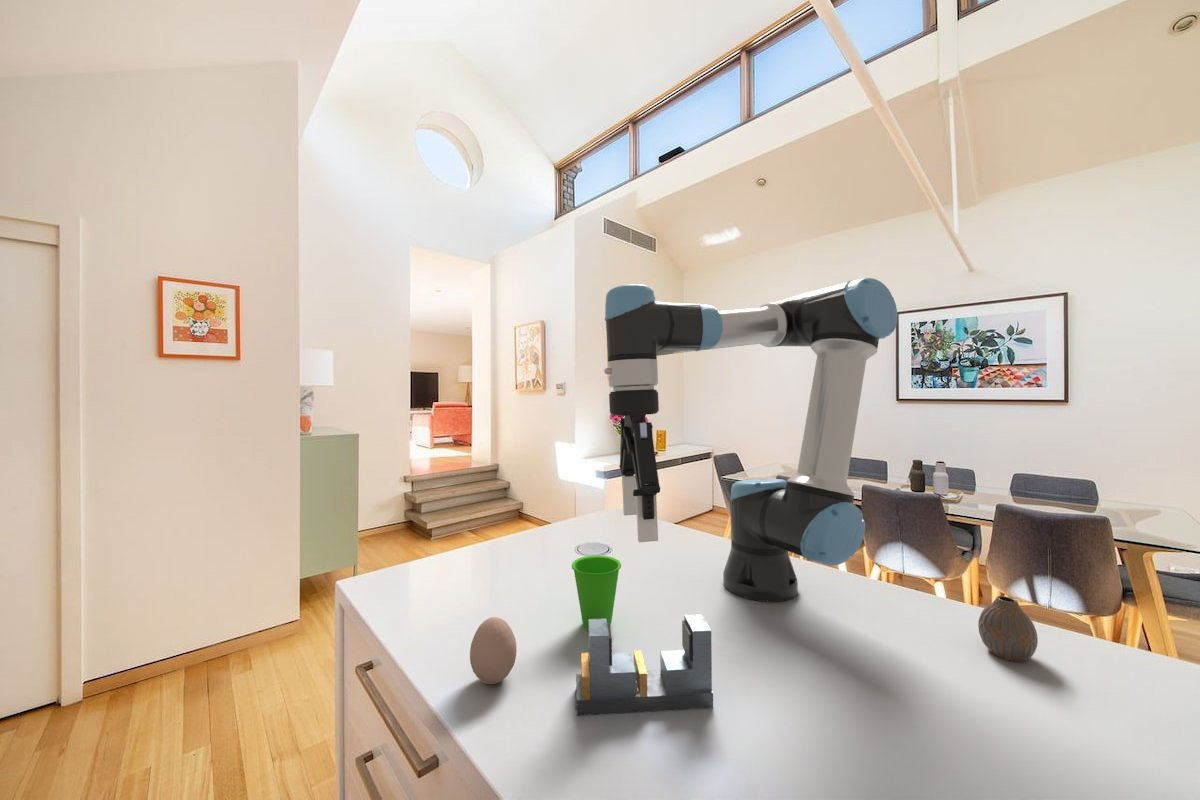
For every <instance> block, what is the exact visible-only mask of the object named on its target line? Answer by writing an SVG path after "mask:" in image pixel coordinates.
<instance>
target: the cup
mask: <svg viewBox="0 0 1200 800" xmlns="http://www.w3.org/2000/svg"><path fill="white" fill-rule="evenodd" d="M621 568H622V563H621V562H620V560H618V559H617V558H615V557H612V556H608V555H599V554H597V555H595V554H594V555H587V556H582V557H580V558H577V559H575V560H574V561H573V562H572V564H571V569H572V570H573V572H574V578H575V585H576V591H577V592H576V593H577V598H578V603H579V608H580V614H581V620H582V624H583V627H584V628H585V629H586V630H588V631H589V620H588V619H606V620H607V624H609V625H610V626H611V624H612V619H613V613H614V607H615V599H616V593H617V586H618V580H619V579H618V578H619V571H620V570H621Z"/></svg>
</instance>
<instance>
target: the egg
mask: <svg viewBox="0 0 1200 800" xmlns="http://www.w3.org/2000/svg"><path fill="white" fill-rule="evenodd" d="M516 659H517V642H516V637H515V633H514V631H513V630H512V628H511V626H510V625H509V624H508V622H507V621H505V619H503V618H501V617H499V616H498V617H497V616H492V617H489V618H487V619H485V620H484V621H482V622H481V624H480V625H479V626H478V627H477V629H476V631H475V633H474V635H473V637H472V640H471V643H470V649H469V661H470V667H471V669H472V673H474V675H475V676H476V677H477V679H479V680H480V682H483V683H485V684H487V685H494V684H498V683H500V682H502V681H503V680H505V679H506V678H507V677H508V676H509V674H510V672H511V671H512V669H513V668H514V666H515V662H516Z"/></svg>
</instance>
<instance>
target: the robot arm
mask: <svg viewBox="0 0 1200 800" xmlns="http://www.w3.org/2000/svg"><path fill="white" fill-rule="evenodd" d="M604 307H605V308H604V309H605V313H604V314H605V315H604V321H605V329H606V330H605V331H606V347H607V349H606V350H607V351H606V352H607V362H608V363H607V366H608V367H606V368H604V370H603V372H604V374H605V375H609V376H608V386H609V387H610V388H612V391H610V392H609V393H608V397H609V398H608V399H609V401H608V403H609V413H610V415H612V416H618V417H620V416H621V417H622V416H623V418H620V420H619V424H620V451H619V452H620V453H619V469H620V472H621V483H622V484H621V485H622V487H621V489H622V504H623V505H622V507H623V508H622V509H623V512H622V513H623V515H624V516H636V523H637V525H636V526H637V528H636V529H637V541H638V543H647V542H648V543H649V542H658V541H659V529H658V527H659V526H658V508H657V505H658V504H657V503H658V502H657V495H658V494H660V492H661V486H660V482H659V481H660V480H659V474H658V466H657V459H656V453H655V452H656V451H655V444H654V439H653V437H654V436H653V424H652V421H651V422H650V421H649V422H647V420H646V416H647V415H655V414H658V413H659V409H660V408H659V407H660V406H659V391H658V390H657V389H655V386H656V387H657V386H658V384H659V375H658V374H659V373H658V357H659V356H666V355H667V356H669V355H673V354H681V353H683V354H684V353H690V352H700V351H706V350H707V351H708V350H716V349H717V350H718V349H725V348H734V347H742V346H750V345H751V346H752V345H761V346H762V347H765V348H774V347H810V349H811V350H812V352H813V353H815V355H816V361H815V367H814V372H813V377H812V385H811V389H810V395H809V402H808V406H807V412H806V419H805V425H804V430H803V431H804V432H803V435H802V442H801V448H800V452H799V453H800V454H799V458H798V460H799V461H798V465H797V470H796V473H795V474H794V475H792V476H791V477H790V478H788V479H782V478H781V479H780V478H755V479H743V480H739V481H735V482H734V483H732V485H731V488H730V499H729V502H730V503H729V506H730V507H729V508H730V538H731V540H730V541H731V543H730V545H731V547H730V551H729V554H728V557H727V560H726V563H725V566H724V569H723V572H722V573H723V578H722V581H723V586H724V587H725V588H726V589H727V590H728V591H729V592H730V593H733V594H735V595H736V596H739V597H742V598H746V599H748V600H749V599H750V600H753V601H759V602H773V603H774V602H784V601H788V600H792V599H793V598H795V597H796V596H797V595H798V592H799V588H798V587H799V586H798V585H799V584H798V582H799V581H798V578H797V575H796V572H795V569H794V566H793V564H792V561H791V558H790V555H789V554H790V553H792V554H795V555H798V556H800V557H803V558H804V559H806V560H807V561H809V562H814V563H815V562H816V563H820V564H822V565H826V566H839V565H842V564H844V563H846V562H847V561H849V560H850V558H851V557H853V556H854V555H855V554H856V553H857V551H858V550H859V548H860V547H861V545H862V542H863V539H864V537H865V532H866V521H865V519H864V514H863V512H862V511H861V509H860V508H859V507H858V506H856V505H855V504H854V499H855V493H854V492H853V491H852V489H851V488H850V487H849V486H848V476H849V471H850V464H851V459H852V452H853V445H854V439H855V433H856V428H857V420H858V414H859V410H860V408H859V407H860V402H861V396H862V391H863V390H862V389H863V384H864V378H865V371H866V364H867V360H868V359H870V358H871V357H873V356H875V355H876V354H877V353H878V349H879V348H878V347H879V340H880V339H885V338H887V337H889V336H890V335H891V334H892V333H894V331H895V329H896V328H897V324H898V309H897V304H896V301H895V299H894V297H893V294H892V292H891V291H890V289H889V288H888V287H887V286H886V285H885V283H883V282H882V281H881V280H878V279H876V278H872V277H865V278H859V279H851V280H848V281H846V282H844V283H840V284H836V285H833V286H827V287H824V288H820V289H817V290H812V291H807V292H804V293H801V294H799V295H795V296H792V297H789V298H786V299H783V300H779V301H778V300H777V301H775V302H772V301H771V302H766V303H765V302H764V304H761V305H760V306H759V307H758V308H745V309H734V310H721V311H719V310H718V309H717V308H716V307H715V306H713V305H709V304H704V303H703V304H701V303H699V302H695V303H687V302H686V303H684V302H683V303H681V302H664V301H663V302H661V301H656V296H655V291H654V289H653V288H652V287H651V286H649V285H645V284H638V283H634V284H633V283H631V284H625V285H619V286H616V287H613V288H611V289H610V290H608V292H607V293H606V296H605V305H604Z"/></svg>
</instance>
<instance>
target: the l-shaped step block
mask: <svg viewBox="0 0 1200 800" xmlns="http://www.w3.org/2000/svg"><path fill="white" fill-rule="evenodd" d="M588 620H589V630H588V656H589V670H590V696H591V697H604V696H622V695H636V671H635V666H634V657H633V655H632V652H619V653H617V652H616V653H614V652H613V637H612V632H611V631H612V630H611V624H610V625H609V624H607V620H606V619H588Z"/></svg>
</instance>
